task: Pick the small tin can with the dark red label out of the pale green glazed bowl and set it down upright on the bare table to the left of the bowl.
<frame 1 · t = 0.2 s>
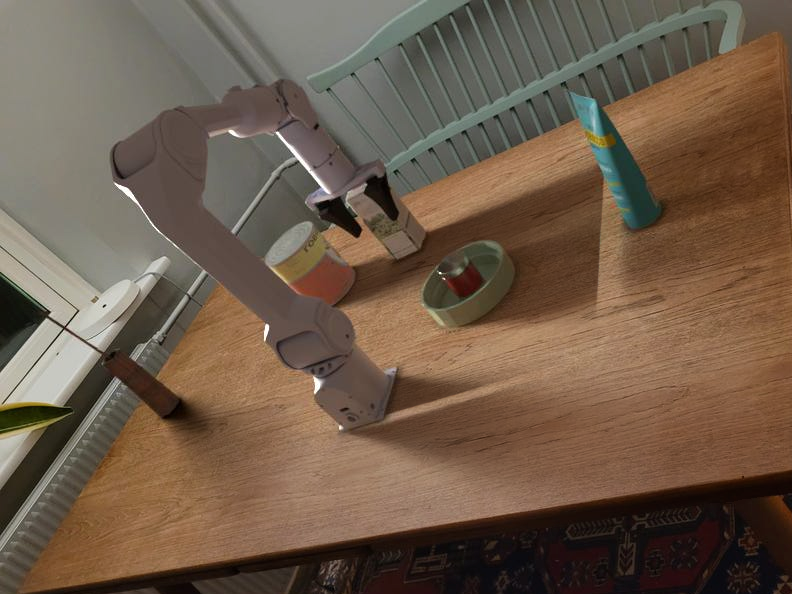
hand: (377, 225, 112), 10 cm above the table, tool pointing down, fingers open, 7 cm apart
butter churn: (175, 405, 137), on the table
syrup box: (412, 248, 124), on the table
canned food: (332, 291, 131), on the table
tube: (644, 218, 93), on the table
bowl: (475, 293, 103), on the table
tin can: (473, 290, 103), point 1 cm above the table, touching bowl
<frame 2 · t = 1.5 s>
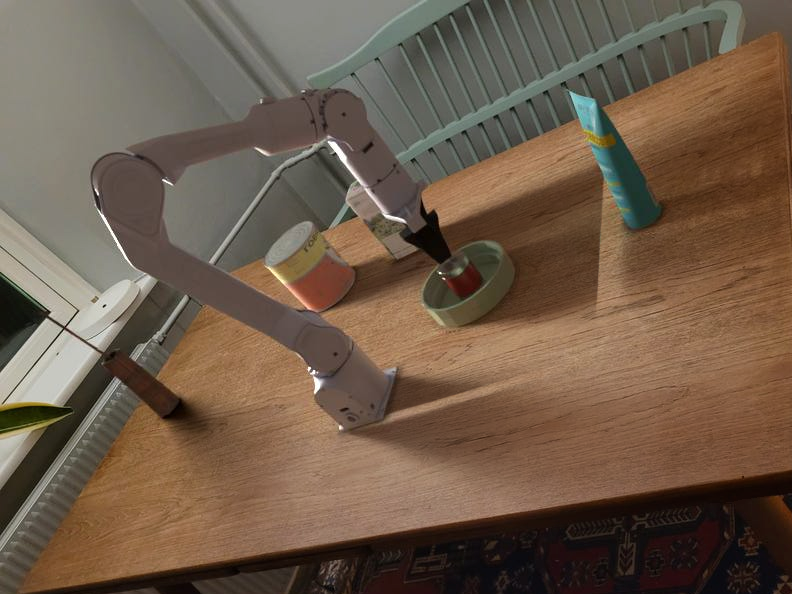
hand: (438, 249, 99), 9 cm above the table, tool pointing down, fingers open, 7 cm apart
nothing on the table moved.
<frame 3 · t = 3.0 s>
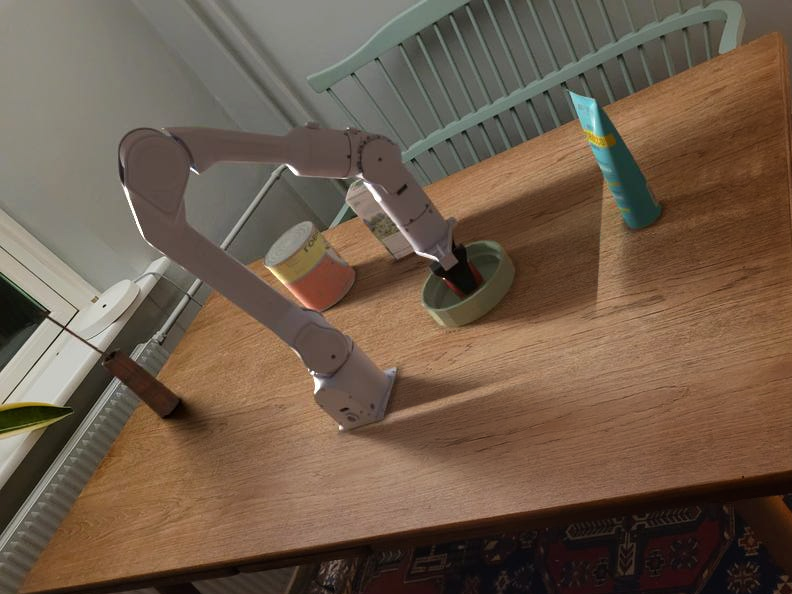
hand: (466, 282, 102), 2 cm above the table, tool pointing down, fingers closed on tin can, 5 cm apart
tin can: (473, 290, 103), point 1 cm above the table, touching bowl, gripper
everything else where it was.
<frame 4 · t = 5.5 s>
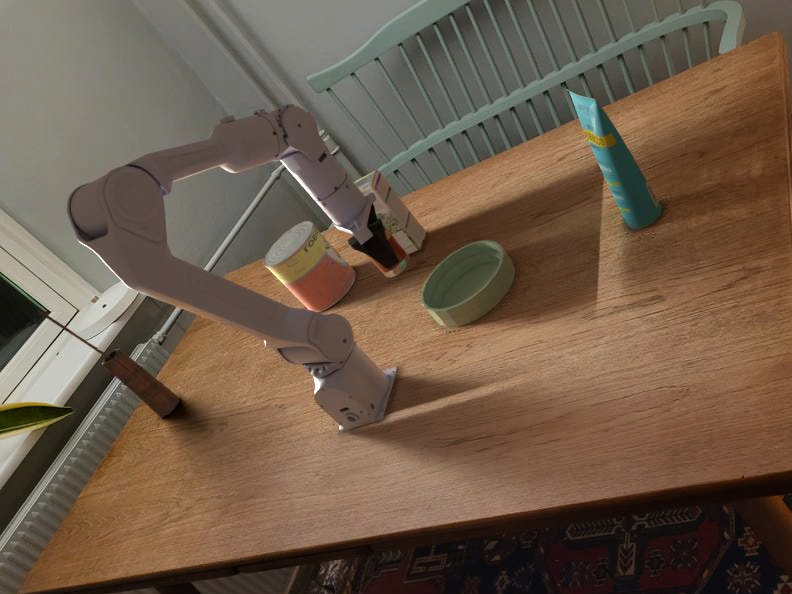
hand: (390, 258, 104), 9 cm above the table, tool pointing down, fingers closed on tin can, 4 cm apart
tin can: (397, 266, 105), point 8 cm above the table, touching gripper
everything else where it was.
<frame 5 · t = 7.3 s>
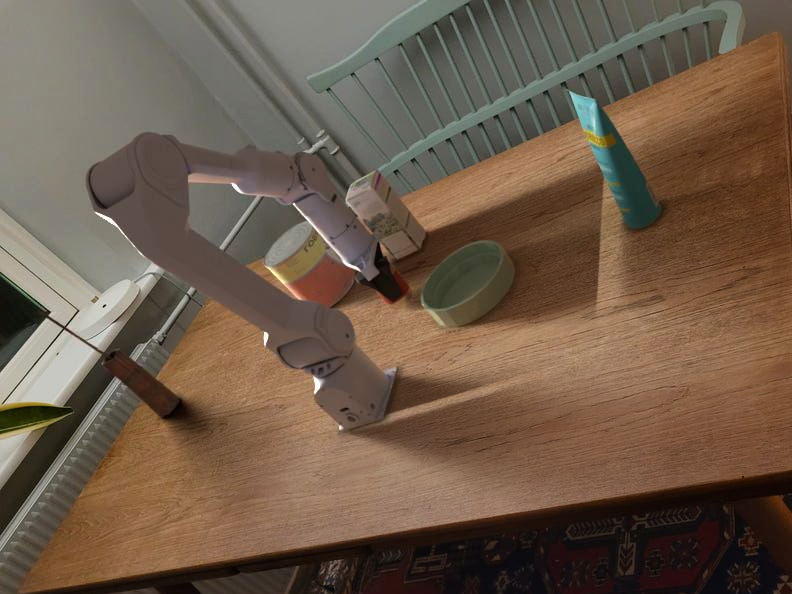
hand: (394, 290, 111), 3 cm above the table, tool pointing down, fingers closed on tin can, 4 cm apart
tin can: (401, 298, 112), point 1 cm above the table, touching gripper
everything else where it was.
when the fingers open (2 cm above the table, at t = 8.2 s): tin can stays where it is, on the table.
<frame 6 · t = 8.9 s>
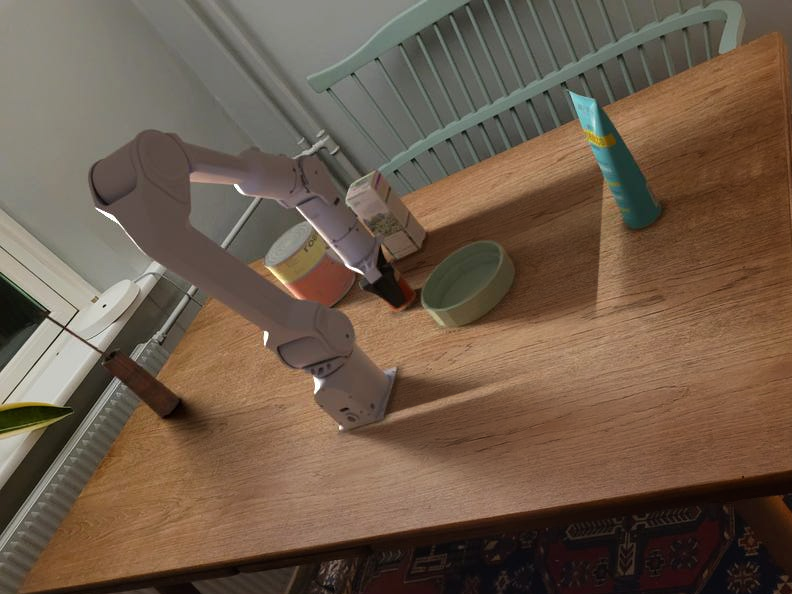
hand: (396, 293, 111), 2 cm above the table, tool pointing down, fingers open, 7 cm apart
tin can: (406, 303, 113), on the table
everything else where it was.
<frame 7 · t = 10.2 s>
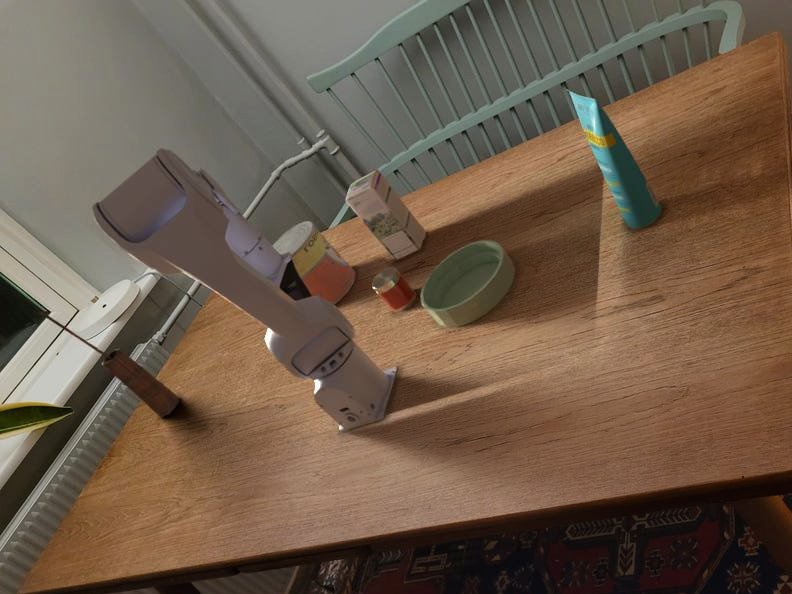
hand: (309, 312, 107), 9 cm above the table, tool pointing down, fingers open, 7 cm apart
nothing on the table moved.
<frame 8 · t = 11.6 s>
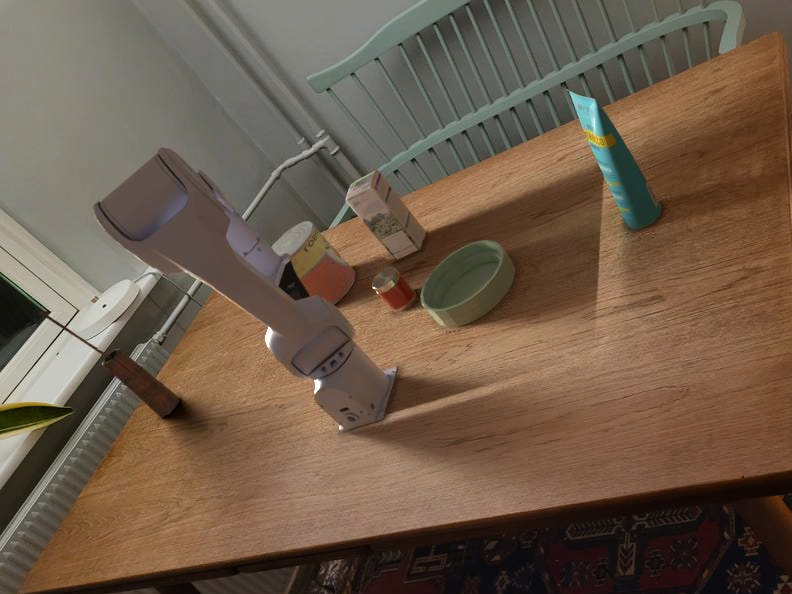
hand: (308, 313, 107), 9 cm above the table, tool pointing down, fingers open, 7 cm apart
nothing on the table moved.
at the end: tin can inside the target area (0.1 cm from its centre), on the table; tin can tilted 0°; the gripper is holding nothing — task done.
